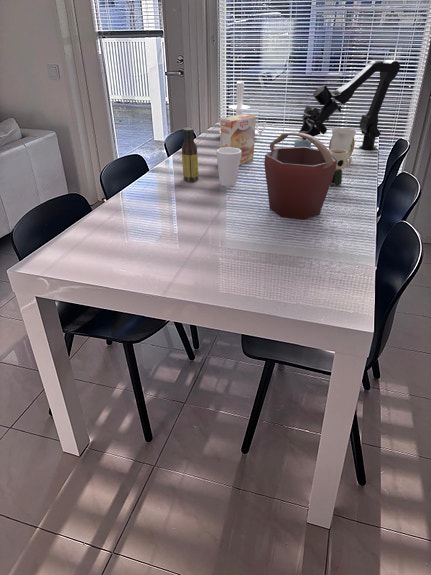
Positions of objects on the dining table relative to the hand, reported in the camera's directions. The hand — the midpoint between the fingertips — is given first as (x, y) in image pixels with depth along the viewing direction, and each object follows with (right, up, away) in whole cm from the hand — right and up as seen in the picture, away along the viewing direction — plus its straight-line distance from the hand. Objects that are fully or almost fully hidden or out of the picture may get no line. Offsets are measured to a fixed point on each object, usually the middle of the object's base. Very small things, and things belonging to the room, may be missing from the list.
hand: (300, 137), depth 206 cm
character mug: (+6, -31, -35) cm, 47 cm away
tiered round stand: (+1, -6, +4) cm, 7 cm away
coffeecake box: (-31, -16, -12) cm, 37 cm away
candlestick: (-27, +8, +26) cm, 38 cm away
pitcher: (+16, -13, -7) cm, 22 cm away
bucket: (-13, -45, -57) cm, 74 cm away
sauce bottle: (-51, -29, -32) cm, 67 cm away
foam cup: (-36, -31, -36) cm, 59 cm away
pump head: (+1, 0, +1) cm, 2 cm away
